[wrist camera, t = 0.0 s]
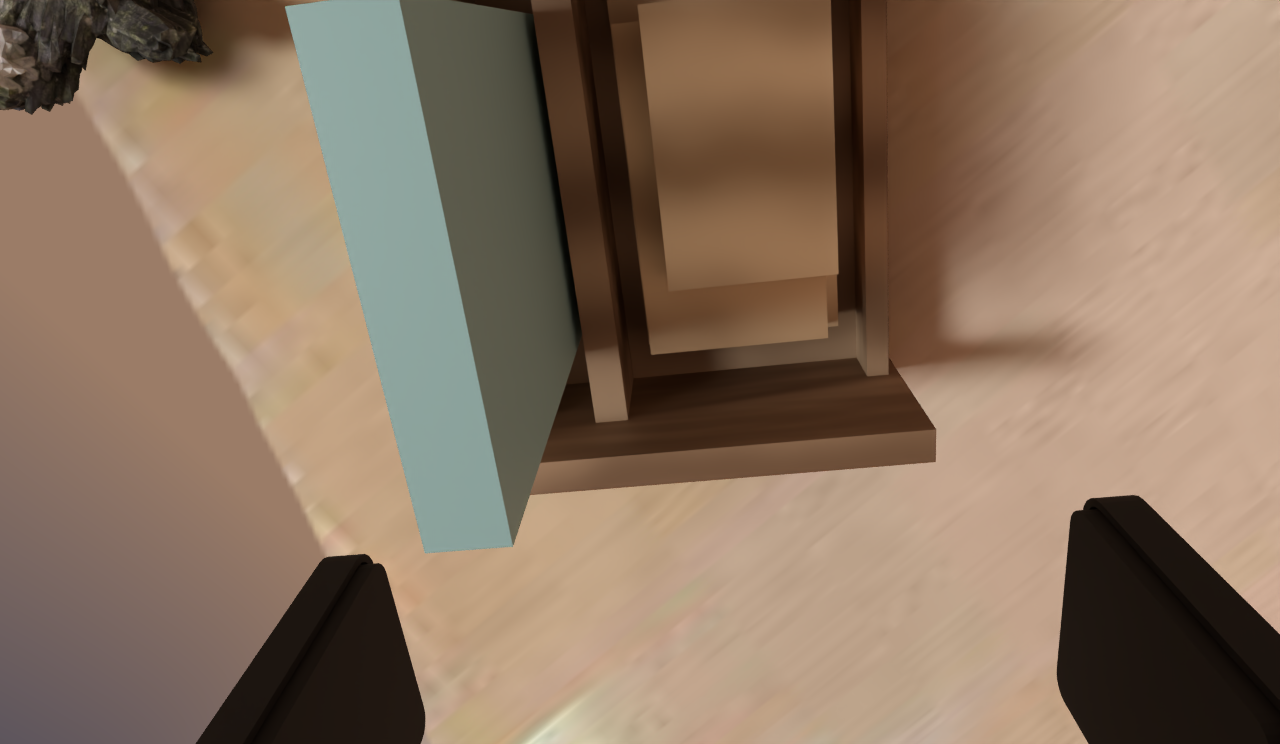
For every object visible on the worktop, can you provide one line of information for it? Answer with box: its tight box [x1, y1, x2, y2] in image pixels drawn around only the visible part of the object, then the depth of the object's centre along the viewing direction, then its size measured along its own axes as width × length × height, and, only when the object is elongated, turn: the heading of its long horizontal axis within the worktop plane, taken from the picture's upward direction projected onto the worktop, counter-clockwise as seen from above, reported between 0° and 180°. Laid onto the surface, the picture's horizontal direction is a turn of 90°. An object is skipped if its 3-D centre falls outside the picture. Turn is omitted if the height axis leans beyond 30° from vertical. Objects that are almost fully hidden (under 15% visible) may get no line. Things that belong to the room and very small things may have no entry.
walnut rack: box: [452, 0, 936, 495], centre depth 35 cm, size 24×20×10 cm
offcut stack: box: [607, 0, 839, 355], centre depth 35 cm, size 16×9×6 cm, turn 7°
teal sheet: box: [285, 0, 582, 553], centre depth 29 cm, size 14×2×20 cm, turn 7°
